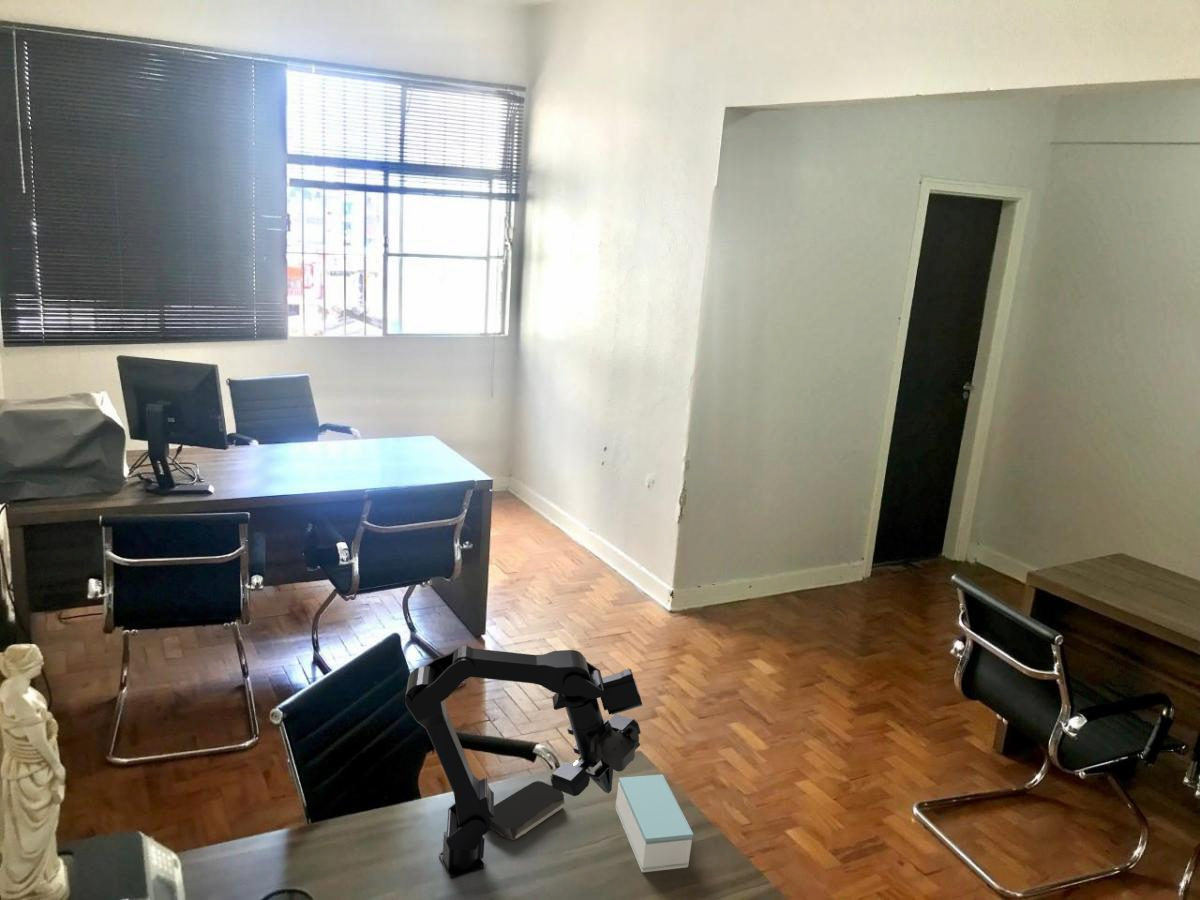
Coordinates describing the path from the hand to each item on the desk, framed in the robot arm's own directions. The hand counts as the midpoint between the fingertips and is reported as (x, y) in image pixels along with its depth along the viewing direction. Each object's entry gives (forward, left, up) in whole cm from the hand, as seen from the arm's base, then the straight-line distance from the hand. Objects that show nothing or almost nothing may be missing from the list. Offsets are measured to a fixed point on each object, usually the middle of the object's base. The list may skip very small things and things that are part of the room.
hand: (608, 791), depth 161 cm
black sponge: (-8, +17, -16) cm, 24 cm away
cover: (+12, +2, -9) cm, 15 cm away
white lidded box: (+12, +2, -15) cm, 19 cm away
